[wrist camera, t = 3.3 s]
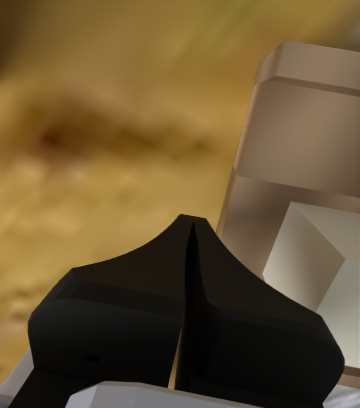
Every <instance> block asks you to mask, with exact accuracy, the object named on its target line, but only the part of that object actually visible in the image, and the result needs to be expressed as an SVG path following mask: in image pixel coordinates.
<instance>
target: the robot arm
mask: <svg viewBox="0 0 360 408" xmlns="http://www.w3.org/2000/svg"><path fill="white" fill-rule="evenodd" d="M181 327H182V328H181ZM180 331H181V337H180V345H179V353H178V362H177V370H176V378H175V386H174V390H173V389H168V383H169V379H170V374H171V370H172V366H173V361H174V357H175V353H176V348H177V344H178V340H179V335H180ZM28 337H29V343H30V347H29V349H28V350H27V352H26V353H25V354H24V356H23V357H22V358H21V360H20V361H19V363H18V364H17V365H16V367H15V368H14V369H13V371H12V372H11V374H10V375H9V376H8V378H7V379H6V381H5V382H4V383H3V385H2V386H1V387H0V408H324V407H323V404H322V403H323V402H324V400H325V399H326V398H327V396H328V395H329V394H330V392H331V391H332V390H333V388H334V387H335V386H336V384H337V383H338V382H339V380H340V378H341V376H342V374H343V372H344V368H345V358H344V356H343V353H342V351H341V349H340V347H339V345H338V344H337V342H336V340H335V338H334V337H333V335H332V333H331V331H330V330H329V328H328V326H327V324H326V323H325V321H324V319H323V318H322V316H321V315H319V314H317V313H315V312H314V311H312V310H310V309H308V308H306V307H305V306H303V305H301V304H299V303H297V302H296V301H294V300H292V299H290V298H289V297H287V296H285V295H284V294H282V293H281V292H279V291H278V290H276V289H274V288H273V287H271V286H270V285H269V284H267V283H266V282H264V281H263V280H262V279H260V278H259V277H258V276H256V275H255V274H254V273H253V272H251V271H250V270H249V269H248V268H247V267H245V266H244V265H243V264H242V263H241V262H240V261H239V260H238V259H237V258H236V257H235V256H234V255H233V254H232V253H231V252H230V251H229V250H228V249H227V247H226V246H225V245H224V244H223V243H222V241H221V240H220V239H219V237H218V236H217V235H216V233H215V232H214V230H213V229H212V227H211V225H210V224H209V222H208V221H207V219H206V218H201V217H195V216H190V215H184V214H180V215H178V217H177V218H176V219H175V221H174V222H173V223H172V224H171V225H170V226H169V227H168V228H167V229H165V230H164V231H163V232H162V233H161V234H159V235H158V236H157V237H156V238H154V239H153V240H151V241H150V242H148V243H147V244H145V245H143V246H141V247H139V248H137V249H135V250H133V251H131V252H128V253H126V254H124V255H121V256H118V257H115V258H112V259H109V260H106V261H102V262H99V263H94V264H90V265H85V266H81V267H76V268H72V269H71V270H70V271H69V272H68V273H67V274H66V275H65V276H64V277H63V278H62V279H61V280H60V281H59V282H58V283H57V284H56V285H55V286H54V287H53V288H52V290H51V291H50V292H49V293H48V294H47V296H46V297H45V298H44V299H43V300H42V302H41V303H40V304H39V305H38V306H37V308H36V309H35V310H34V311H33V312H32V314H31V316H30V319H29V321H28Z"/></svg>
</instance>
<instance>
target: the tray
mask: <svg viewBox="0 0 360 408" xmlns="http://www.w3.org/2000/svg"><path fill="white" fill-rule="evenodd" d="M291 201H292V202H298V203H303V204H309V205H314V206H320V207H325V208H331V209H336V210H342V211H347V212H353V213H358V214H360V52H356V51H350V50H344V49H338V48H332V47H326V46H320V45H314V44H308V43H302V42H296V41H290V40H286V41H285V42H283V43H282V44H281V45H280V46H278V47H277V48H276V49H275V50H274V51H272V52H271V53H270V54H269V55H268V56H266V57H265V58H264V59H263V60H261V61H260V65H259V69H258V73H257V77H256V81H255V84H254V88H253V92H252V96H251V100H250V104H249V107H248V111H247V115H246V119H245V123H244V127H243V130H242V134H241V138H240V142H239V146H238V150H237V153H236V157H235V161H234V165H233V169H232V173H231V177H230V180H229V184H228V188H227V192H226V196H225V200H224V203H223V207H222V211H221V215H220V219H219V223H218V226H217V230H216V235H217V236H218V237H219V239H220V240H221V241H222V243H223V244H224V245H225V246H226V247H227V249H228V250H229V251H230V252H231V253H232V254H233V255H234V256H235V257H236V258H237V259H238V260H239V261H240V262H241V263H242V264H243V265H244V266H245V267H247V268H248V269H249V270H250V271H251V272H253V273H254V274H255V275H256V276H258V277H259V278H260V279H262V280H263V281H264V282H265V280H264V277H263V271H264V269H265V266H266V263H267V261H268V258H269V256H270V253H271V251H272V248H273V246H274V243H275V241H276V238H277V236H278V233H279V230H280V228H281V225H282V223H283V220H284V218H285V215H286V213H287V210H288V208H289V205H290V202H291ZM337 384H338V385H343V386H348V387H353V388H358V389H360V368H356V367H351V366H346V365H345V368H344V372H343V374H342V376H341V378H340V380H339V382H338V383H337Z"/></svg>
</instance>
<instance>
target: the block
mask: <svg viewBox="0 0 360 408" xmlns="http://www.w3.org/2000/svg"><path fill="white" fill-rule="evenodd" d="M263 277H264V280H265V282H266V283H267V284H269V285H270V286H271V287H273V288H274V289H276V290H278V291H279V292H281V293H282V294H284V295H285V296H287V297H289V298H290V299H292V300H294V301H296V302H297V303H299V304H301V305H303V306H305V307H306V308H308V309H310V310H312V311H314V312H315V313H317V314H319V315H321V316H322V318H323V319H324V321H325V323H326V324H327V326H328V328H329V330H330V331H331V333H332V335H333V337H334V338H335V340H336V342H337V344H338V345H339V347H340V349H341V351H342V353H343V356H344V358H345V365H346V366H351V367H356V368H360V214H358V213H353V212H347V211H342V210H336V209H331V208H325V207H320V206H314V205H309V204H303V203H298V202H292V201H291V202H290V205H289V208H288V210H287V213H286V215H285V218H284V220H283V223H282V225H281V228H280V230H279V233H278V236H277V238H276V241H275V243H274V246H273V248H272V251H271V253H270V256H269V258H268V261H267V263H266V266H265V269H264V271H263Z"/></svg>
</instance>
